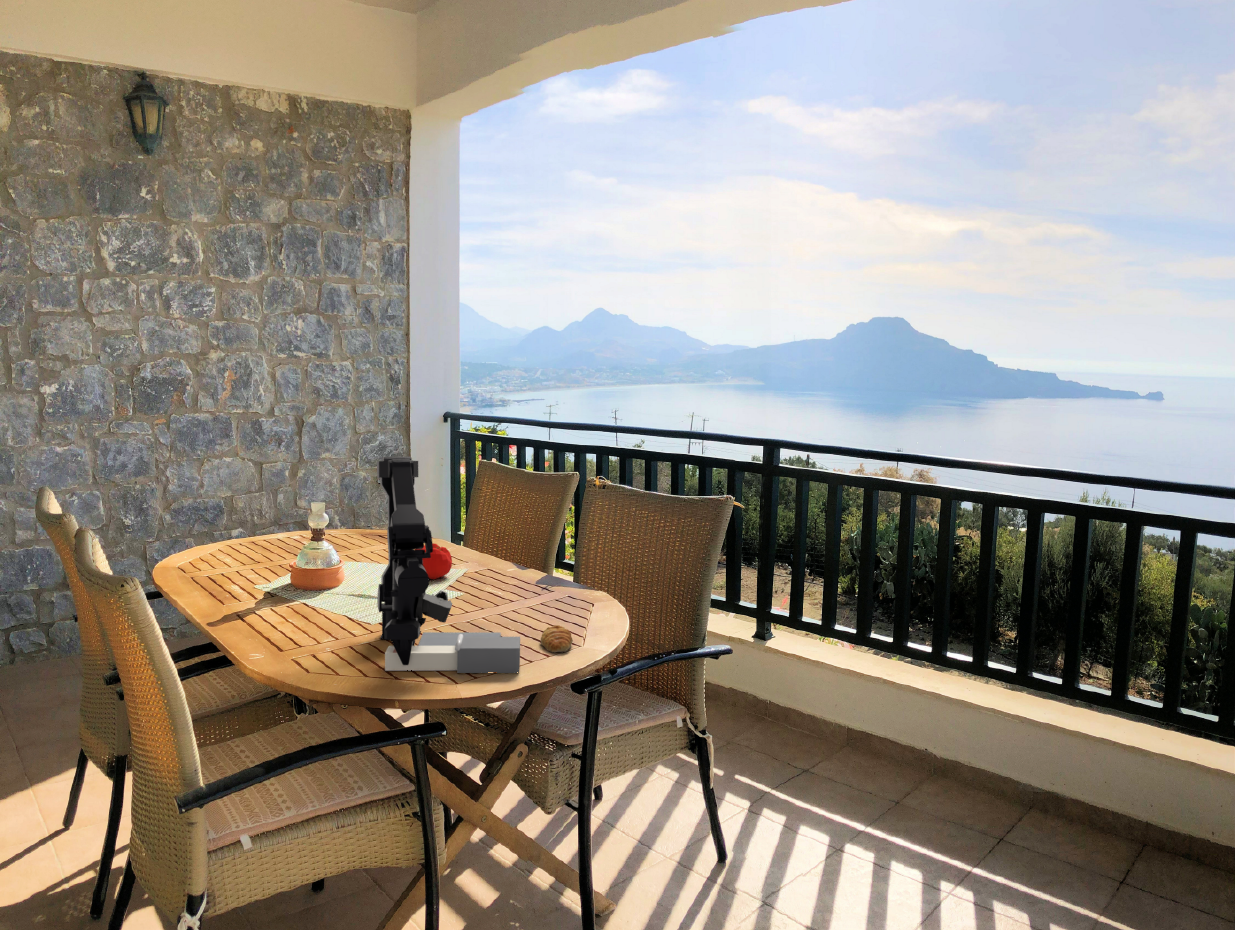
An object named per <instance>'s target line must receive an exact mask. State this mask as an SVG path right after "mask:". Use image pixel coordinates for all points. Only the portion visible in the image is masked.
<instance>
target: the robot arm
mask: <svg viewBox="0 0 1235 930" xmlns="http://www.w3.org/2000/svg"><path fill="white" fill-rule="evenodd" d="M376 476H377V479H379V481H380V482H379V483H380V484H379V485H380V487H381V488H382V490H383V492H384V493H385V496H386V497H387V530H386V531H387V533H386V536H387V537H386V538H387V540H386V541H387V550H388V558H387V559H388V564H387V566H386V567H385V569H384V571H383V572H382V575H380V576H381V577H380V578H381V579H380V580H381V581H380V582H381V583H379V584H378V585H377V586H378V588H377V596H376V598H377V601H376V602H377V603H376V604H377V606H376V607H377V610H378V612H379V613H381V617H382V618H381V635H380V636H379V637H380V638H379V639H380V640H388V641H391V643H392V646H394V648H395V650H396V652H397V654H398V656H399V658H400V660H401V662H402V664H403V665H408V664H409V660H410V655H411V650H412V646H415V644H416V640H418V639H419V637H420V636H421V634H422V630H421V627H422V626H423V625H424V624H425V622H426V620H427V618H426V617H428V618H431V619H434V620H436V621H438V622H440V623H446V622H447V620H448V617H449V614H450V612H451V610H452V607H453V602H452V600H450V599H449V597H448V595H449V594H448V592H446V591H444V590H439V591H438V592H437V593H435V594H429V593H427V592H426V591H427V590H428V588H429V585H430V579H429V576H428V574H427V572H426V570H425V568H424V566H423V558H431V553H432V552H433V544H432V543H433V536H432V530H431V529H430V526H429V525H426V522H425V517H424V515H425V514H423V512H421V511H420V510H419V509H417V504H416V495H415V488H414V485H415V481H416V480H415V478H419V460H413V458H412V457H411V456H382V459H381V460H378V461H377V462H376ZM424 545H425V548H426V552H425V549H423V550H415V549H422V548H424ZM423 615H424V616H426V617H424V616H423Z"/></svg>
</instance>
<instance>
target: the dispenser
mask: <svg viewBox="0 0 1235 930" xmlns="http://www.w3.org/2000/svg"><path fill="white" fill-rule="evenodd" d="M455 650H456V651H458V653H457V670H456V671H457V672H456V674H457V673H488V672H497V673H517V672H518V673H519V674H520V663H521V636H501V637H463V635H462V634H459V635H458V639H457V642H456V646H455Z"/></svg>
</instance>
